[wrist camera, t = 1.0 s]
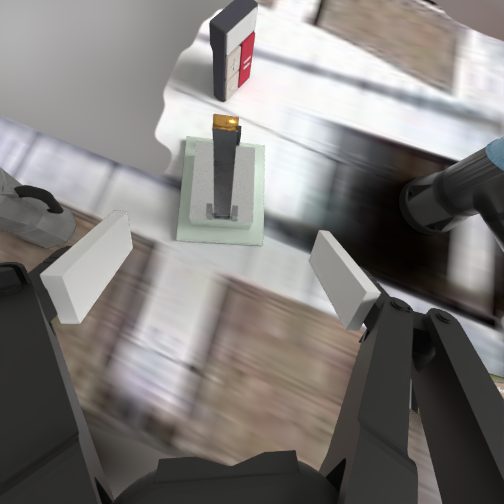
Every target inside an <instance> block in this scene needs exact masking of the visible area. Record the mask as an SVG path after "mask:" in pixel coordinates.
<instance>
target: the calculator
mask: <svg viewBox="0 0 504 504" xmlns="http://www.w3.org/2000/svg"><path fill="white" fill-rule="evenodd" d="M257 6H258V4H257V2H255V1H254V0H234V1H233V2H232V3H230V4H229V5H228V6H227V7H226V8H225V9H223V10H222V11H221V12H220V13H219V14H218V15H217V16H215V17H214V18H213V19H212V20H211V21H210V23H209V27H210V45H211V48H212V50H213V76H214V95H215V96H216V97H217V98H219V99H220V100H222V101H223V102H224V101H225V100H228V99H229V98H230V97H231V96H232V95H233V94H234V93H235V92H236V91H237V89H238V87H240V86H241V85H242V84H243V83H244V82H245V81H246V80H247V79H248V78H249V76H250V69H251V62H252V54H253V47H254V39H255V33H254V30H255V26H256V18H257V10H258V8H257Z"/></svg>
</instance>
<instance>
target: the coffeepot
mask: <svg viewBox="0 0 504 504" xmlns="http://www.w3.org/2000/svg"><path fill="white" fill-rule="evenodd" d="M75 227H76V222H75V218H74V216H73V214H72V212H71V210H70V209H68V208H65V207H62V206H60V205H59V203H58V202H57V201H56V199H55V198H54V197H53V195H52V194H51V193H50V192H48V191H46V190H44V189H41V188H37V187H33V186H28V185H24V186H23V185H22V184H20V183H19V182H18V181H17V180H15V179H14V178H13V177H12V176H10V175H9V174H8V173H7V172H5V171H4V170H3V169H2V168H0V231H6V232H8V231H9V232H11V233H13V234H14V235H16V236H18V237H20V238H22V239H24V240H26V241H28V242H30V243H33V244H36V245H39V246H41V247H44V248H50V247H54V246H57V245H60V244H62V243H64V242H67V241H68V239H69V238H70V237H71V235H72V234H73V232H74V230H75Z"/></svg>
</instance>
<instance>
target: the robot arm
mask: <svg viewBox="0 0 504 504" xmlns="http://www.w3.org/2000/svg"><path fill="white" fill-rule="evenodd" d="M399 207H400V211H401V213H402V215H403V217H404V219H405V220H406V222H407V223H408V224H409V225H410V226H411V227H412V228H413V229H415V230H416V231H418V232H420V233H422V234H426V235H437V234H441V233H444V232H447V231H449V230H451V229H452V228H454V227H455V226H457V225H458V224H460V223H461V222H462V221H464V220H465V219H467V218H468V217H470V216H473V215H476V214H480V215H481V217H482V218H483V220H484V221H485V222H486V224H487V226H488V227H489V229H490V231H491V232H492V234H493V235H494V237H495V239H496V240H497V242H498V244H499V245H500V247H501V248H502V250H503V252H504V137H502V138H500V139H497V140H494V141H492V142H491V143H489V144H488V145H487V146H486V147H485V148H483V149H481V150H479V151H478V152H476V153H474V154H472V155H470V156H469V157H467V158H465V159H463V160H461V161H460V162H458V163H456V164H454V165H452V166H451V167H449V168H447V169H445V170H444V171H441V172H437V173H433V174H429V175H425V176H421V177H418V178H416V179H414V180H412V181H411V182H409V183H407V184H406V185H405V186H404V187H403V188H402V190H401V192H400V196H399ZM132 249H133V246H132V239H131V233H130V226H129V220H128V214H127V211H116V210H114V211H113V212H112V213H111V214H109V215H108V216H107V217H106V218H105V219H104V220H102V221H101V222H100V223H99V224H98V225H97V226H96V227H94V228H93V229H92V230H91V231H90V232H89V233H87V234H86V235H85V236H84V237H83V238H82V239H80V240H79V241H78V242H77V243H76V244H75V245H74V246H66V247H64V248H61V249H59V250H57V251H55V252H54V253H53V254H52V255H50V256H49V258H47V259H45V260H44V261H43V263H40V264H39V265H38V266H37V267H36V268H34V269H33V270H32V271H31V272H29V273H27V271H26V269H25V267H24V265H23V264H21V263H17V262H6V263H0V504H418V473H417V467H416V464H415V462H414V461H413V460H412V459H410V458H409V456H408V452H407V447H408V426H409V404H410V383H411V381H412V385H413V389H414V393H415V396H416V400H417V404H418V408H419V412H420V416H421V420H422V424H423V428H424V432H425V436H426V440H427V444H428V448H429V452H430V456H431V460H432V464H433V468H434V472H435V476H436V480H437V484H438V488H439V492H440V495H441V499H442V503H443V504H504V399H503V397H502V395H501V393H500V392H499V390H498V388H497V386H496V385H495V383H494V381H493V380H492V378H491V376H490V374H489V373H488V371H487V369H486V368H485V366H484V364H483V362H482V361H481V359H480V357H479V356H478V354H477V352H476V350H475V349H474V347H473V345H472V343H471V342H470V340H469V338H468V337H467V335H466V333H465V331H464V330H463V328H462V326H461V325H460V323H459V322H458V321H457V319H456V318H454V317H453V316H452V315H451V314H449V313H448V312H446V311H443V310H440V309H436V308H431V309H430V310H429V311H428V312H427V313H426V314H422V313H418V312H415V311H413V309H412V308H411V307H410V306H409V305H408V304H407V303H406V302H404V301H402V300H400V299H398V298H395V297H390V296H389V295H388V294H387V292H386V291H385V290H384V289H383V288H382V287H381V286H380V284H379V283H377V281H376V280H375V279H374V278H373V276H372V275H371V274H370V273H369V272H368V271H367V270H365V269H364V268H362V267H361V266H358V265H357V264H356V263H355V261H354V260H353V259H352V258H351V257H350V256H349V254H348V253H347V252H346V251H345V250H344V248H343V247H342V246H341V245H340V244H339V243H338V241H337V240H336V239H335V238H334V237H333V235H332V234H331V233H330V232H329V231H323V230H319V232H318V235H317V238H316V241H315V244H314V247H313V250H312V253H311V256H310V259H309V263H310V264H311V266H312V268H313V270H314V272H315V274H316V276H317V277H318V279H319V281H320V283H321V285H322V287H323V289H324V290H325V292H326V294H327V296H328V298H329V300H330V302H331V303H332V305H333V307H334V309H335V311H336V313H337V315H338V316H339V318H340V320H341V322H342V324H343V326H344V328H345V329H346V330H359V329H360V327H361V326H362V324H363V323H364V324H365V326H366V327H367V329H366V331H365V333H364V334H363V336H362V337H361V339H360V341H359V343H361V345H360V348H359V352H358V355H357V358H356V362H355V365H354V368H353V371H352V375H351V378H350V381H349V384H348V388H347V391H346V394H345V398H344V401H343V404H342V407H341V411H340V414H339V417H338V420H337V424H336V427H335V430H334V433H333V437H332V440H331V443H330V447H329V450H328V453H327V455H326V457H325V459H324V461H323V463H322V465H321V468H320V470H319V472H318V471H317V470H315V469H314V468H312V467H311V466H309V465H307V464H305V463H303V462H301V461H298V460H297V456H296V451H295V450H291V451H275V452H264V453H261V454H259V455H257V456H255V457H252V458H250V459H248V460H245V461H243V462H241V463H238V464H236V465H234V466H226V465H222V464H219V463H215V462H212V461H208V460H205V459H201V458H198V457H183V458H167V459H159V463H158V468H157V470H154V471H152V472H150V473H148V474H146V475H144V476H143V477H141V478H139V479H138V480H137V481H135V482H134V483H133V484H131V485H130V486H129V487H128V488H126V489H125V490H124V491H123V492H122V493H121V494H120V495H119V496H118V497H117V498H116V499H115V500H114V498H113V495H112V492H111V490H110V487H109V485H108V482H107V480H106V477H105V475H104V473H103V470H102V468H101V465H100V462H99V459H98V456H97V453H96V450H95V447H94V445H93V442H92V439H91V436H90V433H89V430H88V427H87V424H86V421H85V418H84V415H83V412H82V409H81V406H80V403H79V401H78V398H77V395H76V392H75V389H74V386H73V383H72V380H71V377H70V374H69V371H68V368H67V365H66V363H65V360H64V357H63V354H62V351H61V348H60V345H59V342H58V339H57V336H56V333H55V330H54V327H53V325H52V323H51V321H52V320H53V318H54V317H55V316H56V315H58V318H59V320H60V322H61V323H65V324H80V323H81V322H82V320H83V319H84V317H85V316H86V314H87V313H88V312H89V310H90V309H91V307H92V306H93V304H94V303H95V302H96V300H97V299H98V297H99V296H100V294H101V293H102V292H103V290H104V289H105V287H106V286H107V284H108V283H109V282H110V280H111V279H112V277H113V276H114V274H115V273H116V272H117V270H118V269H119V267H120V266H121V264H122V263H123V262H124V260H125V259H126V257H127V256H128V254H129V253H130V252H131V250H132Z"/></svg>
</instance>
